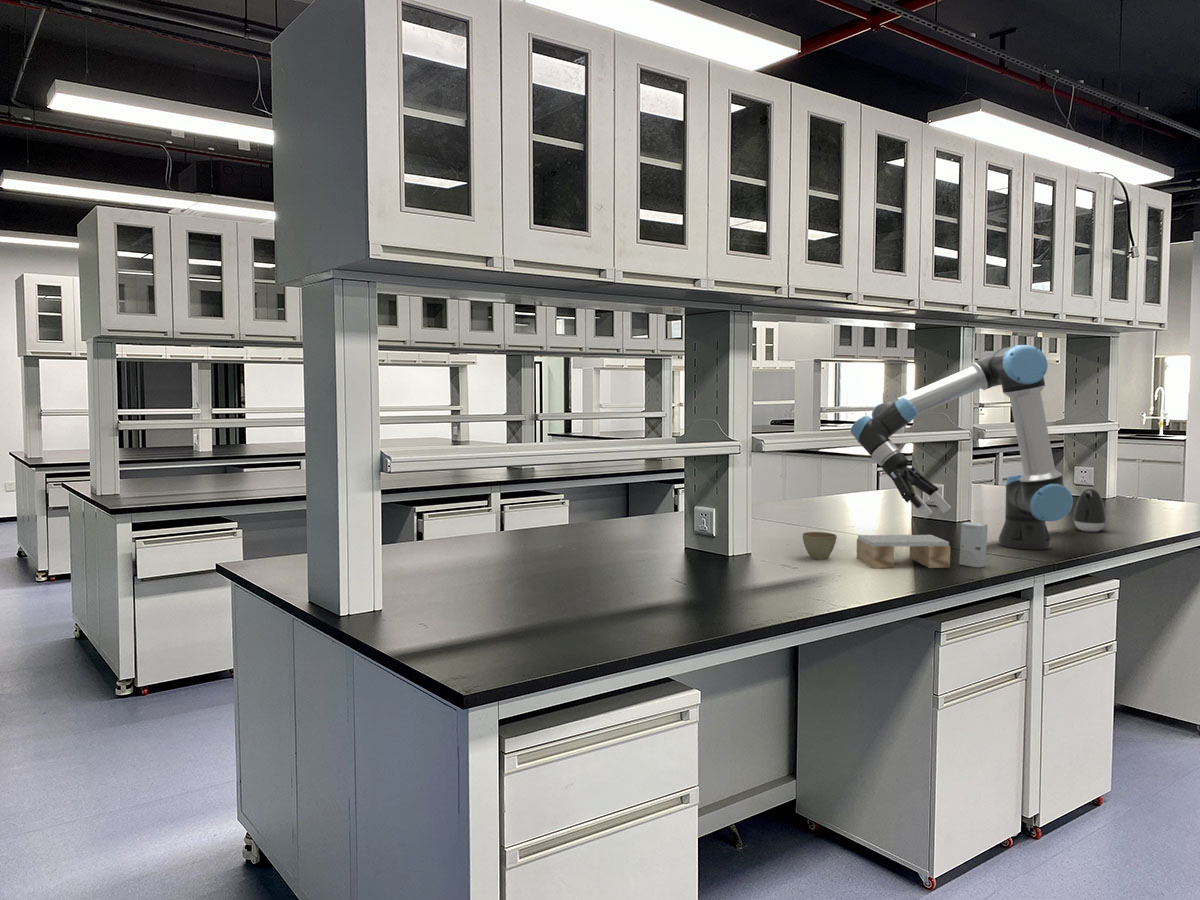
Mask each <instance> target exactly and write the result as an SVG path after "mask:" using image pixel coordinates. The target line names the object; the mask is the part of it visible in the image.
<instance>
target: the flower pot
mask: <svg viewBox="0 0 1200 900" xmlns="http://www.w3.org/2000/svg"><path fill="white" fill-rule="evenodd" d="M837 537H838V536H837V534H836V533H832V532H826V531H825V532H824V531H807V532H803V533H802V541H803V545H804V548H805V550H806V552H807V555H808V557H809V558H810V559H813V560H819V561H820V560H823V561H824V560H828V558H829V557H830V556H831V554H832V552H833V550H834V549H835V545H836V542H837Z"/></svg>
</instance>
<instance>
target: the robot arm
mask: <svg viewBox="0 0 1200 900" xmlns="http://www.w3.org/2000/svg"><path fill="white" fill-rule="evenodd" d="M1048 364H1049V363H1048V360H1047V357H1046V354H1045V353H1043V351H1042V350H1041V349H1039V348H1038V347H1035V346H1034V345H1029V344H1017V345H1014V346H1006V347H1001V348H1000V349H998V350H995V351H993V352H991V353H990V354H988V355H986V356H984V357H982V358H980V359H978V360H975V361H973V362H972V363H971V364H970V366H969V367H967V368H965V369H962V370H960V371H958V372H955V373H954V374H951V375H948V376H946V377H944V378H941V379H939V380H936V381H934V382H931V383H930V384H927V385H926V386H923V387H921V388H918V389H915V390H913V391H911V392H909V393H906V394H904V395H902V396H899V397H897V398H895V399H892V400H890V401H888V402H884V403H880V404H878V405H876V406H875V407H874V408H873V409H872V412H871V417H870V416H869V415H865V416H862V417H860V418H858V419H857V420H856V421H855V422H854V423H852V426H851V427H850V433H851V435H852V436H853V437H854V439H856V441H857V443H858V444H860V446H861V447H863V449H864V450H865V451H866V452H867V453H868V455H870V457H871V458H873V462H874V463H876V464H877V465H879V467H881V469H882V470H883V472H884V473H885V474H886V475H887V476H888V477H889V478H890V479H891V480H892V482H893V483H894V485H895V487H896V489H897V490H898V493H899V494H900V496H901V497H902V499H903V500H904V501H905V502H906V503H909V502H910V503H911V504H912V505H913V507H914V508H916V510H917V511H918V512H919V513H920V514H921V515H922V517H923V518H924V519H927V518H928V517H929V516H930V515H932V513H933V511H932V509H931V508H930V507H929V506H928V504H926V503H925V502H924V501H923V499H922V498H921V497H920V496H919V495H918V494H915V490H914V488H913V486H915V487H916V488H918V489H919V490H921V491H922V492H923V493H925V494H927V496H929V499H930V500H931V501H932V502H933V503H934V504H935V506H936V507H937V508H938V509H939V510H940V511H941V512H942V514H945V513H947V512H948V511H949V510H950V509H951V508H952V506H951V505H950V504H949V503H948V502H947V501H946V500H945V499H944V498H943V496H942V495H941V494H940V493H939V492H938V490H939V487H937V485H935V484H933V483H932V482H931V481H930V480H928V479H927V478H926V477H925V476H924V475H923V474H921V473H920V472H919V471H918V470H917V469H916V468H915V467H911V468H909V467H908V466H907V465H908V464H909V459H908V458H907V457H906V456H905V455H904V453H902V452H900V449H899V448H898V447H897V445H895V443H894V442H893V441H892V440H891V439H890V437H892V435H894V434H896V433H897V432H898V431H899V430H902V428H904V427H905V426H906V425H908V424H909V423H911V422H912V421H913V420H914V419H915V418H918V417H917V416H918V415H920V414H923V413H924V412H928V411H930V410H932V409H935V408H937V407H938V406H942V405H945V404H947V403H949V402H951V401H953V400H956V399H959V398H960V397H963V396H965V395H969V394H970V393H973V392H975V391H978V390H980V389H981V390H983V391H986V390H988V389H990V388H993V387H997V386H1001V388H1002V393H1003V395H1005V396H1006V397H1008V398H1009V401H1010V407H1011V412H1012V418H1013V422H1014V427H1015V434H1016V439H1017V444H1018V450H1019V454H1020V460H1021V466H1022V471H1023V474H1014V475H1009V476H1008V477H1007V478H1006V483H1005V517H1004V519H1005V521H1004V524H1003V526H1002V528H1001V531H1000V533H999V536H998V545H1000V546H1002V547H1006V548H1011V549H1018V550H1019V549H1020V550H1036V551H1037V550H1049V549H1051V548H1052V540H1051V536H1050V533H1049V530H1048V526H1047V524H1046V522H1057V521H1060V520H1062V519H1064V518H1065V517H1066V516H1067V515H1068V514H1069V513H1070V512H1071V510H1072V508H1073V504H1074V498H1073V495H1072V492H1071V491H1070V489H1068V487H1066V486H1065V483H1064V479H1063V474H1062V472H1060V471H1058V470H1057V469H1056V467H1055V461H1054V457H1053V451H1052V446H1051V445H1052V444H1051V441H1050V435H1049V429H1048V423H1047V419H1046V414H1045V410H1044V403H1043V397H1042V391H1043V389H1045V387H1046V383H1045V375H1046V374H1047V371H1048Z"/></svg>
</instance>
